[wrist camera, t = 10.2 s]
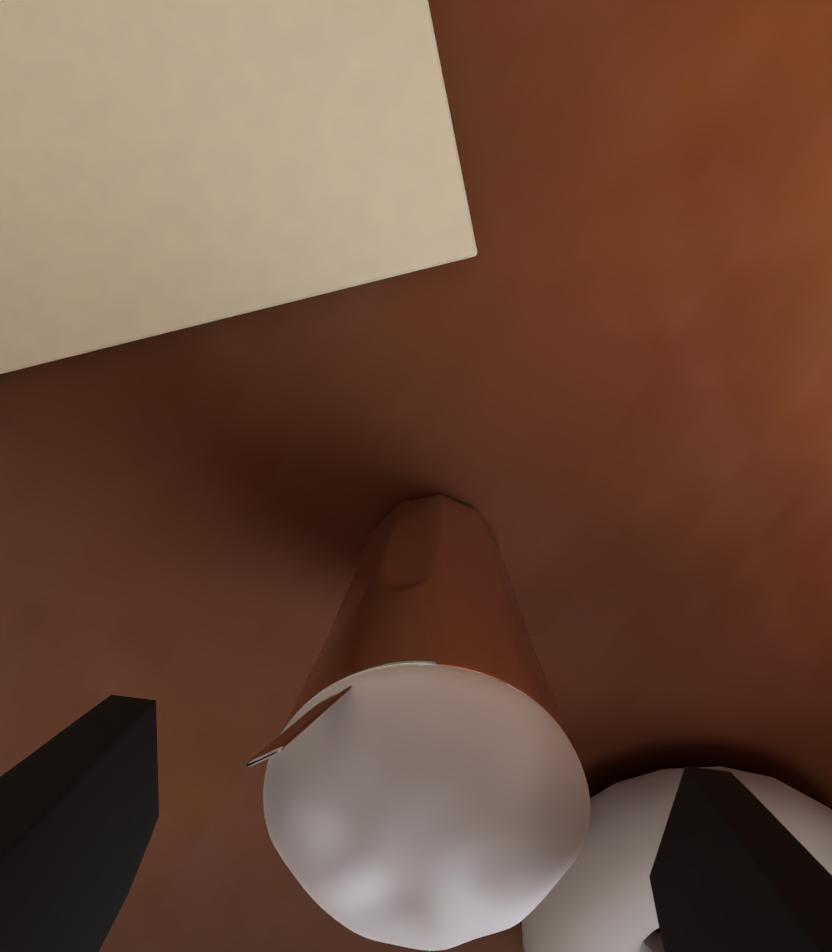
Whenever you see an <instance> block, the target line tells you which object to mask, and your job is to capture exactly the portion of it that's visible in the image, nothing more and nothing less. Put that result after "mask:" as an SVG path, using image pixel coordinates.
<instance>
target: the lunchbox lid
mask: <svg viewBox="0 0 832 952" xmlns="http://www.w3.org/2000/svg"><path fill="white" fill-rule="evenodd" d="M476 255H477V248H476V243H475V238H474V233H473V227H472V222H471V217H470V212H469V207H468V202H467V197H466V192H465V187H464V182H463V177H462V172H461V166H460V161H459V156H458V151H457V146H456V141H455V136H454V131H453V126H452V121H451V116H450V110H449V105H448V100H447V95H446V90H445V85H444V80H443V75H442V70H441V65H440V60H439V55H438V49H437V44H436V39H435V34H434V29H433V24H432V19H431V14H430V9H429V4H428V0H0V374H3V373H7V372H11V371H15V370H19V369H23V368H27V367H31V366H35V365H39V364H43V363H47V362H51V361H55V360H60V359H64V358H68V357H72V356H76V355H80V354H84V353H88V352H92V351H96V350H100V349H104V348H108V347H112V346H116V345H120V344H124V343H128V342H132V341H136V340H140V339H144V338H148V337H152V336H156V335H160V334H164V333H168V332H172V331H176V330H180V329H184V328H188V327H192V326H197V325H201V324H205V323H209V322H213V321H217V320H221V319H225V318H229V317H233V316H237V315H241V314H245V313H249V312H253V311H257V310H261V309H265V308H269V307H273V306H277V305H281V304H285V303H289V302H293V301H297V300H301V299H305V298H309V297H313V296H317V295H321V294H325V293H330V292H334V291H338V290H342V289H346V288H350V287H354V286H358V285H362V284H366V283H370V282H374V281H378V280H382V279H386V278H390V277H394V276H398V275H402V274H406V273H410V272H414V271H418V270H422V269H426V268H430V267H434V266H438V265H442V264H446V263H450V262H454V261H458V260H462V259H467V258H471V257H474V256H476Z"/></svg>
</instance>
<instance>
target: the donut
mask: <svg viewBox="0 0 832 952" xmlns="http://www.w3.org/2000/svg"><path fill="white" fill-rule="evenodd" d="M698 768H706V769H714V770H722V771H730V772H731V773H732V774H733V775H734V776H735V777H736V778H737V779H738V780H739V781H741V782H742V783H743V784H744V785H745V786H746V787H747V788H748V789H749V790H750V791H751V792H752V793H753V794H754V795H755V796H756V797H757V799H758V800H759V801H760V802H761V803H762V804H763V805H764V806H765V807H766V808H767V809H768V810H769V811H770V812H771V813H772V814H773V815H774V816H775V817H776V818H777V819H778V820H779V821H780V822H781V823H782V824H783V825H784V826H785V827H786V828H787V830H788V831H789V832H790V833H791V834H792V835H793V836H794V837H795V838H796V839H797V840H798V841H799V842H800V843H801V844H802V845H803V846H804V847H805V848H806V849H807V850H808V851H809V852H810V853H811V854H812V855H813V856H814V858H815V859H816V860H817V861H818V862H819V863H820V864H821V865H822V866H823V867H824V868H825V869H826V870H827V871H828V872H829V873H830V874H831V875H832V810H831V809H830V808H829V807H827V806H825V805H823V804H821V803H819V802H817V801H816V800H814V799H812V798H810V797H808V796H806V795H804V794H803V793H801V792H799V791H797V790H795V789H793V788H791V787H790V786H788V785H786V784H784V783H782V782H780V781H778V780H777V779H775V778H773V777H769V776H764V775H760V774H755V773H750V772H745V771H740V770H736V769H731V768H726V767H721V766H719V767H698ZM683 771H684V768H675V769H662V770H658V771H655V772H651V773H648V774H645V775H641V776H638V777H634V778H631V779H628V780H624V781H621V782H617V783H615V784H613V785H611V786H610V787H608V788H606V789H605V790H603V791H601V792H600V793H598V794H596V795H595V796H593V797H591V798H590V823H589V829H588V833H587V837H586V840H585V842H584V845H583V847H582V849H581V851H580V853H579V854H578V856H577V858H576V859H575V861H574V862H573V864H572V865H571V866H570V868H569V869H568V870H567V871H566V872H565V874H564V875H563V876H562V877H561V879H560V880H559V881H558V882H557V883H556V885H555V886H554V887H553V888H552V890H551V891H550V892H549V893H548V894H547V895H546V897H545V898H544V899H543V900H542V901H541V902H540V903H539V904H538V905H537V906H536V908H535V909H534V910H533V911H532V912H531V913H530V914H528V915H527V916H526V917H525V918H524V919H523V920H522V936H523V948H524V952H664V947H663V942H662V938H661V933H660V932H655V931H654V930H656V929H658V928H659V924H658V919H657V914H656V909H655V903H654V898H653V893H652V888H651V883H650V877H649V876H650V873H651V870H652V867H653V864H654V861H655V858H656V854H657V851H658V848H659V845H660V842H661V839H662V836H663V833H664V830H665V827H666V824H667V820H668V817H669V814H670V811H671V808H672V805H673V802H674V799H675V796H676V793H677V790H678V786H679V783H680V780H681V777H682V774H683Z"/></svg>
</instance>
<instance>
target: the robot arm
mask: <svg viewBox="0 0 832 952" xmlns="http://www.w3.org/2000/svg"><path fill="white" fill-rule="evenodd" d="M158 817H159V802H158V764H157V727H156V700H148V699H140V698H132V697H124V696H116V695H111V696H109V697H108V698H107V699H105V700H104V701H102V702H101V703H100V704H98V705H97V706H95V707H94V708H93V709H91V710H90V711H89V712H87V713H86V714H84V715H83V716H82V717H80V718H79V719H78V720H76V721H75V722H74V723H72V724H71V725H70V726H68V727H67V728H66V729H64V730H63V731H62V732H60V733H59V734H58V735H56V736H55V737H53V738H52V739H51V740H49V741H48V742H47V743H45V744H44V745H43V746H41V747H40V748H39V749H37V750H36V751H35V752H33V753H32V754H31V755H29V756H28V757H27V758H25V759H24V760H23V761H21V762H20V763H19V764H17V765H16V766H14V767H13V768H12V769H10V770H9V771H8V772H6V773H5V774H3V775H2V776H1V777H0V952H99V950H100V948H101V946H102V944H103V942H104V940H105V938H106V936H107V934H108V932H109V930H110V928H111V927H112V925H113V923H114V921H115V919H116V917H117V915H118V913H119V911H120V909H121V907H122V905H123V903H124V901H125V899H126V897H127V895H128V893H129V890H130V888H131V885H132V883H133V880H134V878H135V875H136V873H137V870H138V868H139V866H140V863H141V861H142V858H143V856H144V853H145V850H146V848H147V845H148V843H149V840H150V837H151V835H152V832H153V830H154V827H155V824H156V822H157V819H158ZM649 877H650V883H651V888H652V893H653V898H654V903H655V909H656V914H657V919H658V924H659V929H660V933H661V938H662V942H663V947H664V952H832V875H831V874H830V873H829V872H828V871H827V870H826V869H825V868H824V867H823V866H822V865H821V864H820V863H819V862H818V861H817V860H816V859H815V858H814V856H813V855H812V854H811V853H810V852H809V851H808V850H807V849H806V848H805V847H804V846H803V845H802V844H801V843H800V842H799V841H798V840H797V839H796V838H795V837H794V836H793V835H792V834H791V833H790V832H789V831H788V830H787V828H786V827H785V826H784V825H783V824H782V823H781V822H780V821H779V820H778V819H777V818H776V817H775V816H774V815H773V814H772V813H771V812H770V811H769V810H768V809H767V808H766V807H765V806H764V805H763V804H762V803H761V802H760V801H759V800H758V799H757V797H756V796H755V795H754V794H753V793H752V792H751V791H750V790H749V789H748V788H747V787H746V786H745V785H744V784H743V783H742V782H741V781H739V780H738V779H737V778H736V777H735V776H734V775H733V774H732V773H731V772H730V771H722V770H714V769H706V768H698V767H689V766H685V768H684V771H683V774H682V777H681V780H680V783H679V786H678V790H677V793H676V796H675V799H674V802H673V805H672V808H671V811H670V814H669V817H668V820H667V824H666V827H665V830H664V833H663V836H662V839H661V842H660V845H659V848H658V851H657V854H656V858H655V861H654V864H653V867H652V870H651V873H650V876H649Z"/></svg>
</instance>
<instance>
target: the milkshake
mask: <svg viewBox="0 0 832 952" xmlns="http://www.w3.org/2000/svg"><path fill="white" fill-rule="evenodd" d="M268 758H269V760H268V764H267V768H266V773H265V779H264V787H263V805H264V816H265V821H266V826H267V829H268V833H269V835H270V838H271V840H272V842H273V844H274V846H275V848H276V850H277V851H278V853H279V855H280V856H281V858H282V859H283V861H284V862H285V864H286V865H287V867H288V868H289V869H290V871H291V872H292V873H293V875H294V876H295V877H296V879H297V880H298V881H299V883H300V884H301V885H302V887H303V888H304V889H305V890H306V892H307V893H308V894H309V895H310V896H311V897H312V899H313V900H314V901H315V902H316V903H317V904H318V905H319V906H320V907H321V908H322V909H323V910H325V911H326V912H327V913H328V914H329V915H330V916H332V917H333V918H334V919H335V920H337V921H338V922H339V923H341V924H342V925H344V926H345V927H347V928H348V929H350V930H351V931H353V932H355V933H357V934H359V935H361V936H363V937H366V938H368V939H371V940H375V941H379V942H384V943H389V944H393V945H398V946H402V947H407V948H413V949H418V950H427V951H438V950H445V949H449V948H452V947H455V946H458V945H461V944H463V943H466V942H468V941H471V940H474V939H477V938H480V937H483V936H486V935H490V934H494V933H497V932H501V931H504V930H506V929H509V928H511V927H513V926H515V925H516V924H518V923H519V922H521V921H522V920H523V919H524V918H525V917H526V916H527V915H528V914H530V913H531V912H532V911H533V910H534V909H535V908H536V906H537V905H538V904H539V903H540V902H541V901H542V900H543V899H544V898H545V897H546V895H547V894H548V893H549V892H550V891H551V890H552V888H553V887H554V886H555V885H556V883H557V882H558V881H559V880H560V879H561V877H562V876H563V875H564V874H565V872H566V871H567V870H568V869H569V868H570V866H571V865H572V864H573V862H574V861H575V859H576V858H577V856H578V854H579V853H580V851H581V849H582V847H583V845H584V842H585V840H586V837H587V833H588V829H589V823H590V796H589V790H588V785H587V781H586V777H585V774H584V771H583V768H582V765H581V763H580V760H579V758H578V756H577V754H576V752H575V749H574V747H573V744H572V741H571V739H570V736H569V734H568V731H567V729H566V726H565V724H564V721H563V719H562V716H561V714H560V711H559V709H558V706H557V704H556V702H555V699H554V697H553V694H552V692H551V689H550V687H549V684H548V682H547V679H546V677H545V674H544V672H543V669H542V667H541V664H540V662H539V660H538V657H537V655H536V652H535V650H534V647H533V644H532V641H531V638H530V636H529V633H528V630H527V627H526V624H525V621H524V618H523V615H522V612H521V609H520V606H519V604H518V601H517V598H516V595H515V592H514V589H513V586H512V583H511V580H510V578H509V575H508V572H507V569H506V566H505V563H504V560H503V557H502V554H501V552H500V549H499V546H498V544H497V542H496V540H495V539H494V537H493V535H492V534H491V532H490V530H489V528H488V527H487V525H486V523H485V522H484V520H483V518H482V516H481V515H480V513H479V511H478V510H476V509H474V508H471V507H469V506H467V505H464V504H462V503H460V502H457V501H455V500H453V499H450V498H448V497H446V496H443V495H441V494H439V495H434V496H429V497H424V498H418V499H413V500H407V501H401V502H400V503H399V504H398V505H397V506H396V507H395V508H394V509H393V510H392V511H391V512H390V513H389V514H388V515H387V516H386V517H385V518H384V519H383V520H382V521H381V522H380V523H379V524H378V525H377V526H376V528H375V529H374V530H373V532H372V534H371V536H370V538H369V541H368V543H367V545H366V547H365V550H364V552H363V554H362V557H361V559H360V561H359V564H358V566H357V568H356V571H355V573H354V575H353V578H352V580H351V582H350V584H349V587H348V589H347V591H346V594H345V596H344V598H343V601H342V603H341V605H340V608H339V610H338V612H337V615H336V617H335V620H334V622H333V624H332V627H331V629H330V632H329V634H328V636H327V638H326V641H325V643H324V645H323V647H322V649H321V651H320V653H319V655H318V658H317V660H316V662H315V664H314V666H313V668H312V670H311V672H310V674H309V676H308V678H307V680H306V682H305V684H304V686H303V688H302V690H301V692H300V695H299V697H298V699H297V701H296V703H295V705H294V707H293V709H292V711H291V713H290V715H289V717H288V719H287V721H286V723H285V725H284V727H283V729H282V732H281V734H280V735H279V736H278V737H277V738H276V739H275V740H273V741H272V742H271V743H270V744H269V745H267V746H266V747H265V748H264V749H263V750H261V751H260V752H259V753H258V754H257V755H255V756H254V757H253V758H252V759H251V760H250V761H249V762H248V763H247V766H253V765H255V764H257V763H259V762H261V761H264V760H266V759H268Z"/></svg>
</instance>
